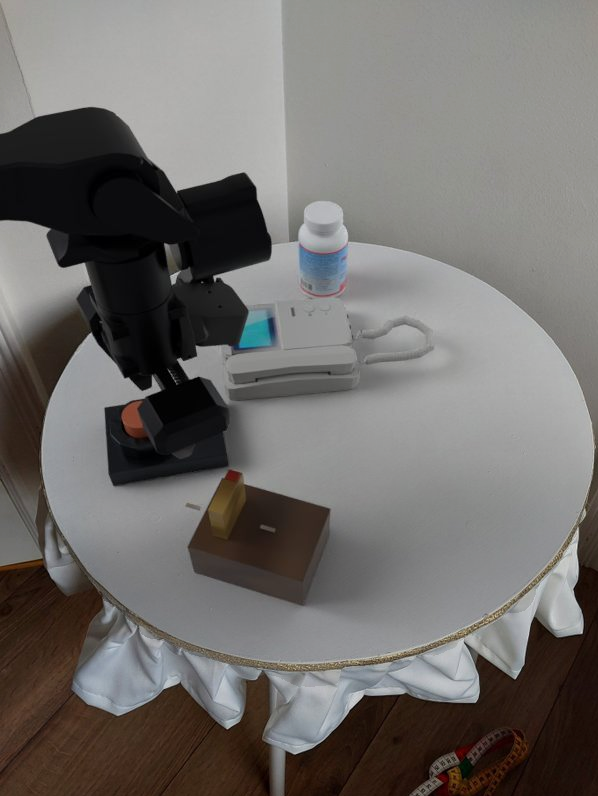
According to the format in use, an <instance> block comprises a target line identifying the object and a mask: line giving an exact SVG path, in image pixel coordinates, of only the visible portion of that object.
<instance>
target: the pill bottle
mask: <svg viewBox="0 0 598 796" xmlns="http://www.w3.org/2000/svg"><path fill="white" fill-rule="evenodd" d="M303 222H304V223H302V225H301V226H300V228H299V230H298V236H297V237H298V240H297V241H298V243H297V244H298V247H297V248H298V287H299V289H300V291H301V292H302V293H303V294H304V295H305V296H306V297H308V298H309V299H315V298H328V297H335V298H338V297H339V296H341V295H342V294H343V293H344V291H345V289H346V286H347V269H348V250H349V249H348V247H349V233H348V229H347V228H346V226H345V225H344V211H343V209H342V207H341V206H340V205H339V204H337V203H335V202H332V201H328V200H317V201H314V202H311V203H309V204H308V205H307V206H306V207H305V208H304V211H303Z"/></svg>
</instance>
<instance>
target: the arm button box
mask: <svg viewBox="0 0 598 796" xmlns="http://www.w3.org/2000/svg"><path fill="white" fill-rule="evenodd" d="M144 399H145V398H140V399H139V398H138V399H131V400H130V401H128V402H127V403H125V404H118V405H112V406H105V407H104V408H103V411H104V421H105V422H104V424H105V427H104V428H105V440H106V441H105V442H106V455H107V456H106V457H107V471H108V477H109V479H110V482H111V484H112V486H113V487H114V486H115V487H116V486H121V485H126V484H134V483H138V482H144V481H151V480H156V479H157V480H158V479H163V478H169V477H173V476H174V477H175V476H179V475H187V474H191V473H197V472H203V471H208V470H215V469H220V468H221V469H222V468H226V467H230V463H229V455H228V451H227V446H226V440H225V434H224V433H225V432H222V433H219V434H217V435H215V436H212V437H210V438H207V439H205V440H203V441H200V442H198V443H196V444H195V446H194V449H193V452H192V454H191V455H190V456H188V457H186V458H183V459H179V458H178V457H176V456H175V455H173V454H172V453H171V454H169V455H164V454H159V453H157V451H156V450H155V448H154V446H153V444H152V442H151V440H150V439H149V437H147V438H134V437H132V436H130V435H129V434H128V433H127V432H126V430H125V427H124V424H123V421H122V412H123V410H124V409H125V408H126V407H127V406H128V405H129V404H131V403H133V402H137V401H143V400H144Z"/></svg>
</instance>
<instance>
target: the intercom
mask: <svg viewBox="0 0 598 796" xmlns="http://www.w3.org/2000/svg"><path fill="white" fill-rule="evenodd" d="M245 306H246V307H247V309H248V310H249V314H248V318H247V321H246V324H245V327H244V331H243V334H242V337H241V340H240V343H239V344H238V345H236V346H228V345H220V350H221V358H222V359H221V360H222V365H223V366H224V369H223V371H222V372H223V385H224V392H225V397H227V398H228V399H229V400H231V401H244V400H245V401H246V400H254V399H255V400H256V399H264V398H275V397H277V398H278V397H287V396H288V397H289V396H298V395H307V394H309V395H310V394H319V393H328V392H340V391H350V390H354V389H356V388H357V387H358V385H359V382H360V373H361V371H360V367H359V364H361V365H366V366H369V365H374V364H379V363H392V362H405V361H411V360H414V359H420V358H422V357H424V356H425V355H428V354H429V353H431V352H433V351H434V350H435V334H434V333H435V330H434V329H433V328H431V327H430V326H429V325H427V324H426V323H424V322H423V321H421V320H420V319H417V318H414V317H410V316H407V315H403V316H399V317H396V318H392V319H388V320H387V321H386V322H385V323H384V324H383V325H382V326H381V327H378V328H375V329H372V330H371V329H359V330H358V331H357V334H356V337H355V338H354V335H353V334H352V331H351V329H352V326H351V324H350V322H349V314H348V313H347V310H346V306H345V302H343V300H342V299H341V298H339V297H328V298H315V299H312V298H305V299H291V300H277V301H275V302H272V303H271V302H270V303H259V304H257V303H256V304H247V305H246V304H245ZM400 326H401V327H402V326H408V327H411V328H414V329H417V330H418V331H420V332H421V333H422V334H424V335H425V344H424V345H422V346H420V347H419V348H417V349H411V350H405V351H396V352H394V351H393V352H381V353H373V354H369V355H365V356H364V357H363V361H362V362H360V361H358V357H357V353H356V350H355V349H354V348H353V347H354V341H358V340H360V338H361V339H363V340H364V339H365V340H375V339H378V338H381V337H384V336H386V335H388V334H389V333H390V332H391V331H392V330H393V329H394V328H397V327H400ZM360 336H361V337H360Z"/></svg>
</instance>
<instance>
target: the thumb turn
mask: <svg viewBox="0 0 598 796" xmlns="http://www.w3.org/2000/svg"><path fill="white" fill-rule="evenodd" d="M223 478H224V479H223V481H222V483H221V485H220V487H219V489H218V491H217V493H216V495H215V497H214V499H213V501H212V503H211V505H210V507H209V509H208V512H209V516H210V521H211V526H212V531H213V536H216V537H219V538H222V539H225V540H227V539H228V538H229V535H230V533H231V531H232V529H233V527H234V525H235V523H236V521H237V519H238V516H239V514H240V512H241V510H242V508H243V506H244V504H245V502H246V494H245V486H244V484H245V479H244V472H242V471H238V470H234V469H232V468H228V469H227V471H226V473H225V475H224V477H223Z"/></svg>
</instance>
